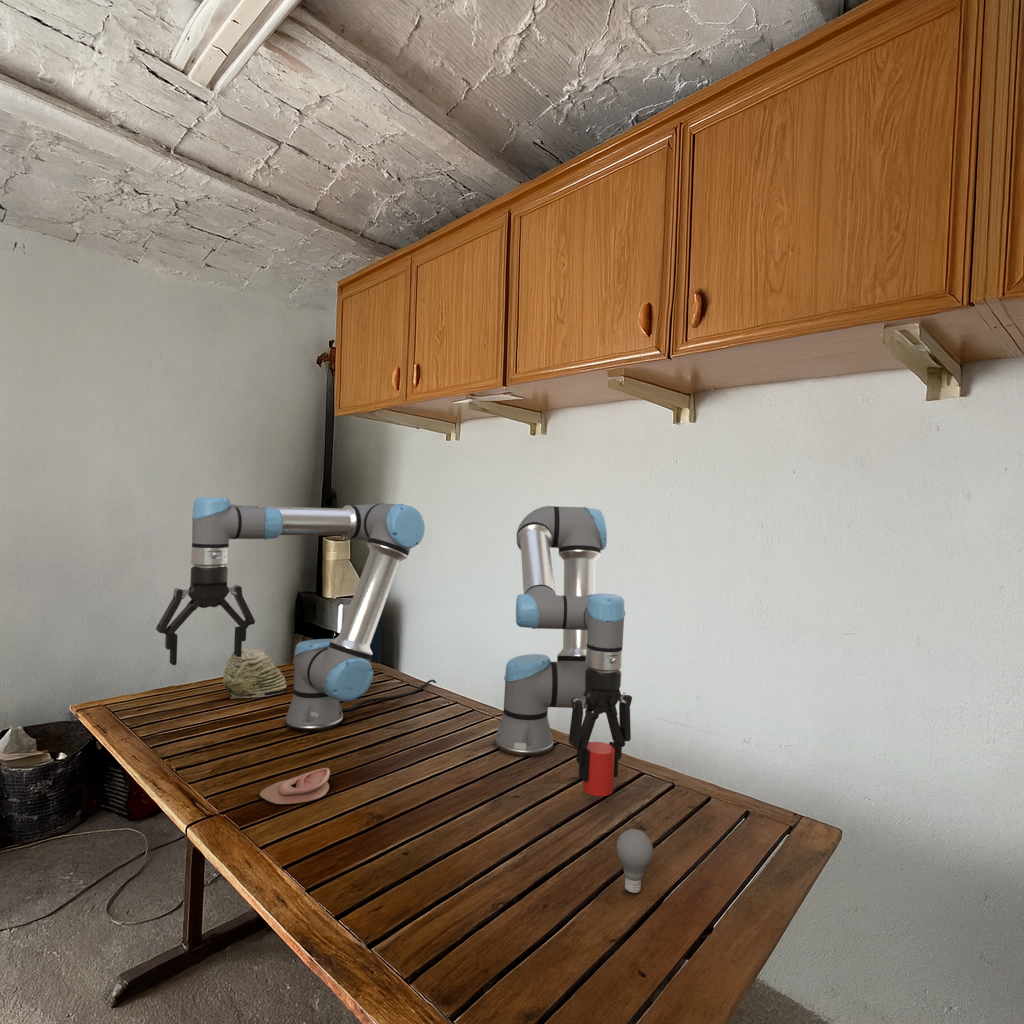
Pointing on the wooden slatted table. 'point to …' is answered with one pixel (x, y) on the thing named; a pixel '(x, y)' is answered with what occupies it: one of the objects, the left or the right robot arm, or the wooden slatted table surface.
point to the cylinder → (600, 769)
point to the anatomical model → (298, 788)
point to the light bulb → (634, 857)
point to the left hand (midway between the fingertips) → (206, 659)
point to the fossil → (253, 675)
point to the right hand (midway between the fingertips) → (598, 776)
